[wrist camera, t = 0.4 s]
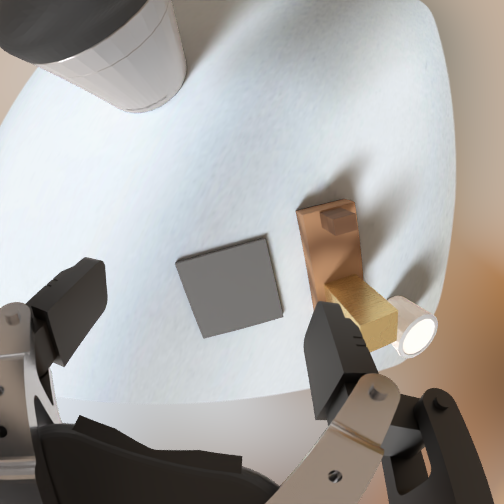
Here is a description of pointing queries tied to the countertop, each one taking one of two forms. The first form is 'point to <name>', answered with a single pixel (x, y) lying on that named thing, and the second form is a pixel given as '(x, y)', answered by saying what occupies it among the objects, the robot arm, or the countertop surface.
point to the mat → (231, 288)
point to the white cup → (412, 327)
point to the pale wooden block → (365, 310)
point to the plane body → (330, 244)
